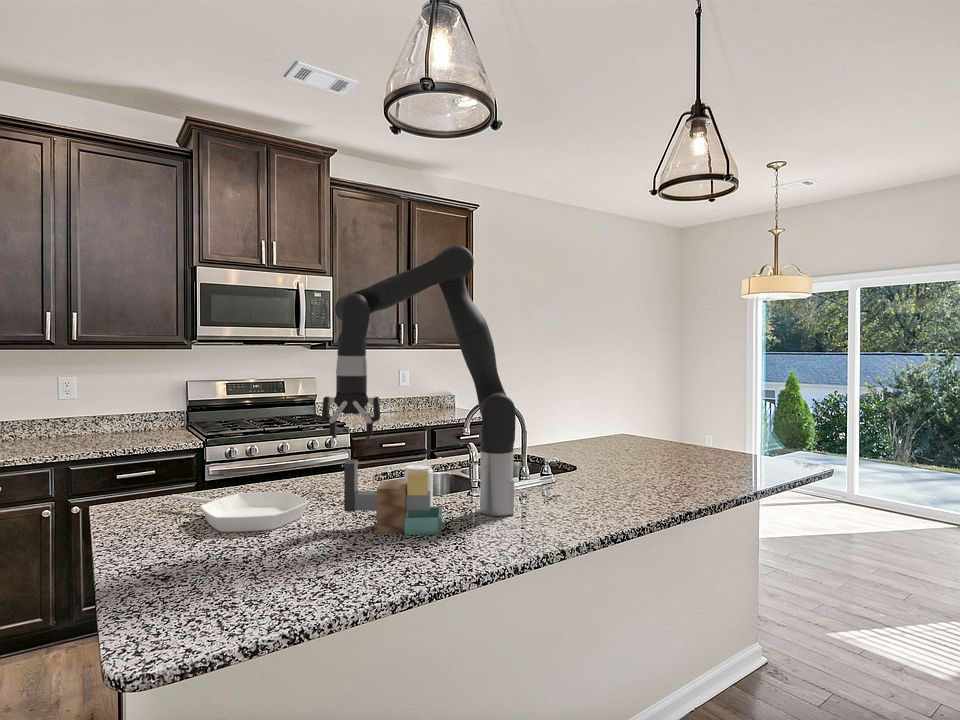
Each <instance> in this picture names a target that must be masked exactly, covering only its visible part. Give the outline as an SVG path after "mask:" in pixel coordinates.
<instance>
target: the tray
mask: <svg viewBox="0 0 960 720" xmlns="http://www.w3.org/2000/svg"><path fill="white" fill-rule="evenodd" d="M442 526H443V506H442V505H441V506H440V505H439V506H438V505H437V506H435V505H433V506H430V511H408V518H405V532H404V533H403V534H404V535H405V536H407V535H411V536H414V535H415V536H416V535H418V536H419V535H421V536H422V535H423V536H425V535H433V536H435V535H442V530H443V529H442Z"/></svg>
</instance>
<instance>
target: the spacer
mask: <svg viewBox="0 0 960 720" xmlns="http://www.w3.org/2000/svg"><path fill="white" fill-rule="evenodd" d="M428 491H429V471H409V473H408V495H428Z"/></svg>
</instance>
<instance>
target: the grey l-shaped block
mask: <svg viewBox="0 0 960 720" xmlns="http://www.w3.org/2000/svg"><path fill="white" fill-rule="evenodd" d="M358 460H359V459H347V460H346V461H345V462H344V465H343V468H344V469H343V474H344V475H343V476H344V477H343V479H344V480H343V481H344V482H343V483H344V484H343V486H344V487H343V490H344V491H343V492H344V493H343V494H344V495H343V496H344V498H343V500H344V501H343V502H344V504H343V505H344V507H343V508H344V509H343V511H344V512H357V511H358V512H364V511H365V512H366V511H367V512H370V511H371V512H373V511H375V512H377V490H358V489H359V488H358V487H359V486H358V485H359V484H358V482H359V481H358V480H359V477H358V475H359V474H358V473H359V471H358V470H359V469H358V467H359V463H358V462H359V461H358ZM406 511H430V491H428V495H408V491H406Z"/></svg>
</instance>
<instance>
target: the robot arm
mask: <svg viewBox="0 0 960 720" xmlns="http://www.w3.org/2000/svg"><path fill="white" fill-rule="evenodd" d="M474 264H475V259H474V256H473V253H472V252H471V251H470V250H469V248H467V247H465V246H461V245H452V246H449V247H447V248H444V250H441V251H440V252H439V253H438V254H437V255H435V257H434V258H432V259H431V260H429V261H427V262H425V263H423V264H420V265H418V266H416V267H415V266H414V267H413V268H411V269H408V270H404V271H403V272H401V273H397V274H395V275H392V276H389V277H388V278H385V279H382V280H379V281H377V282H375V283H374V284H372V285H369V286H368V287H366V288H362V289H360V290H357V291H354V292H351V293H349V294H348V293H347V294H345V295H343V296H342V297H340V298H339V299H338V300H337V301H336V303H335V305H334V313H335V316H336V317H337V318H338V319H339V320H340V321H341V332H340V333H339V335H338V337H337V359H336V369H335V374H336V376H335V377H336V378H335V380H336V382H335V383H336V385H335V387H336V390H335V391H336V392H335V396H332V397H331V396H328V395H327V396H324V397H323V399H322V410H321V411H322V412H321V420H322V421H323V422H324V421H325V422H327V423H329V435H330V437H332V439H336V438H337V434H338V431H337V425H338V424H337V420H338V418H339V417H340V416H341V415H342V414H344V415H349V414H352V415H358V414H360V416H362V418H363V419H364V420H365V421H366V425H365V426H366V434H365V435H366V436H365V437H366V439H370V438H371V436H373V434H374V431H373V430H374V423H375V422H378V421H379V420H380V419H381V406H380V397H379V396H375V397H374V396H373V397H368V394H367V392H368V390H367V389H368V388H367V387H368V386H367V385H368V383H367V382H368V381H367V379H368V376H367V375H368V371H367V370H368V366H367V365H368V363H367V341H366V340H367V339H366V338H367V334H368V330H369V323H370V315H371V314H372V313H375V312H377V311H382V310H383V311H384V310H385V309H388V308H390V307H393V306H395V305H398V304H400V303H402V302H404V301H406V300H408V299H409V298H412V297H414V296H415V295H417V294H419V293H421V292H423V291H425V290H426V289H428V288H431V287H433V286H436V285H438V286H439V288H440V291H441V293H442V295H443V298H444V300H445V303H446V306H447V308H448V311H449V312H448V313H449V317H450V318H451V322H452V325H453V328H454V331H455V332H454V333H455V335H456V338H457V341H458V345H459V348H460V350H461V354H462V357H463V359H464V362H465V364H466V368H468V372H469V373H470V375H471V379H472V380H473V381H472V382H473V384H474V388H475V392H476V396H477V402H478V409H479V413H480V416H481V439H480V458H479V459H480V465H479V466H480V471H479V472H480V473H479V474H480V476H479V477H480V478H479V479H480V481H479V482H480V483H479V485H480V486H479V487H480V488H479V512H480V513H481V514H483V515H485V516H489V517H490V516H491V517H500V516H501V517H503V516H509V515H514V514H515V480H514V445H515V440H516V419H517V418H516V416H517V415H516V407H515V403H514V402H513V400H512V399H511V398H510V397H508V395H507V393H506V392H505V389H504V387H503V385H502V382H501V379H500V376H499V373H498V368H497V366H498V365H497V358H496V351H495V347H494V342H493V337H492V335H491V331H490V328H489V325H488V323H487V320H486V318H485V317H484V315H483V314H482V313H481V311H480V309H479V308H478V307H477V306H476V304H475V303H474V302H473V300H472V298H471V296H470V294H469V291H468V288H467V284H466V280H465V278H466V277H467V276H469V275H470V274H471V272H472V271H473V269H474V266H475V265H474ZM333 403H335V405H336V407H338V408H337V409H336V410H335V412H333V415H331V416H330V406H332V405H333ZM368 403H370V405H371V406H372V407H373V416H372V415H371V414H370V412H369V411H368V409H367V408H366V406H367V404H368Z"/></svg>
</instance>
